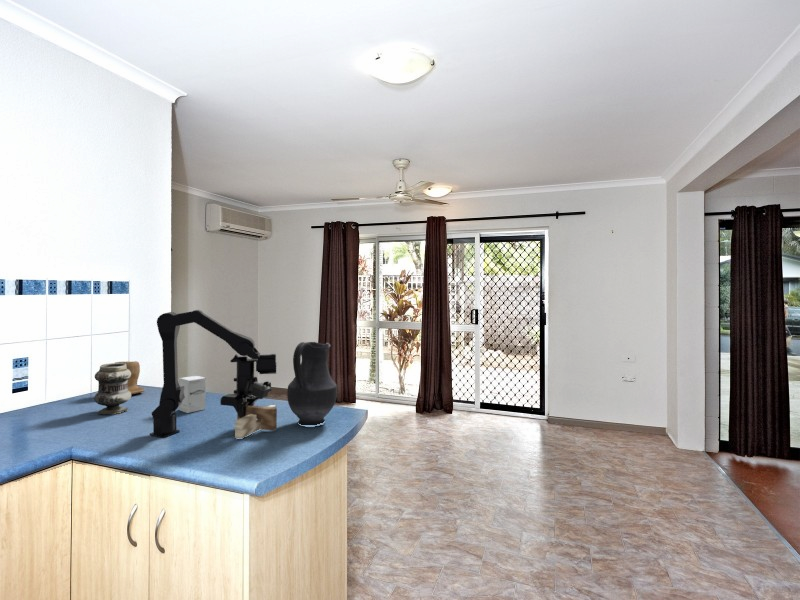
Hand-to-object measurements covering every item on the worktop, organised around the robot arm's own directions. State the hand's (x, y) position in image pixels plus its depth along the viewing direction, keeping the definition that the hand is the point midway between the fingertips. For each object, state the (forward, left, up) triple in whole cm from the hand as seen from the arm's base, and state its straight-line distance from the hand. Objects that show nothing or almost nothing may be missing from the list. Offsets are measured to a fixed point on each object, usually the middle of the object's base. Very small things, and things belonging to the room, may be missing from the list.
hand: (245, 420), depth 155 cm
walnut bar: (0, -5, -2) cm, 5 cm away
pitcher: (+11, -19, -3) cm, 22 cm away
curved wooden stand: (+22, +77, -3) cm, 81 cm away
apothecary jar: (+1, +59, -3) cm, 59 cm away
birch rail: (0, -5, -3) cm, 5 cm away
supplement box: (+13, +33, -3) cm, 36 cm away
